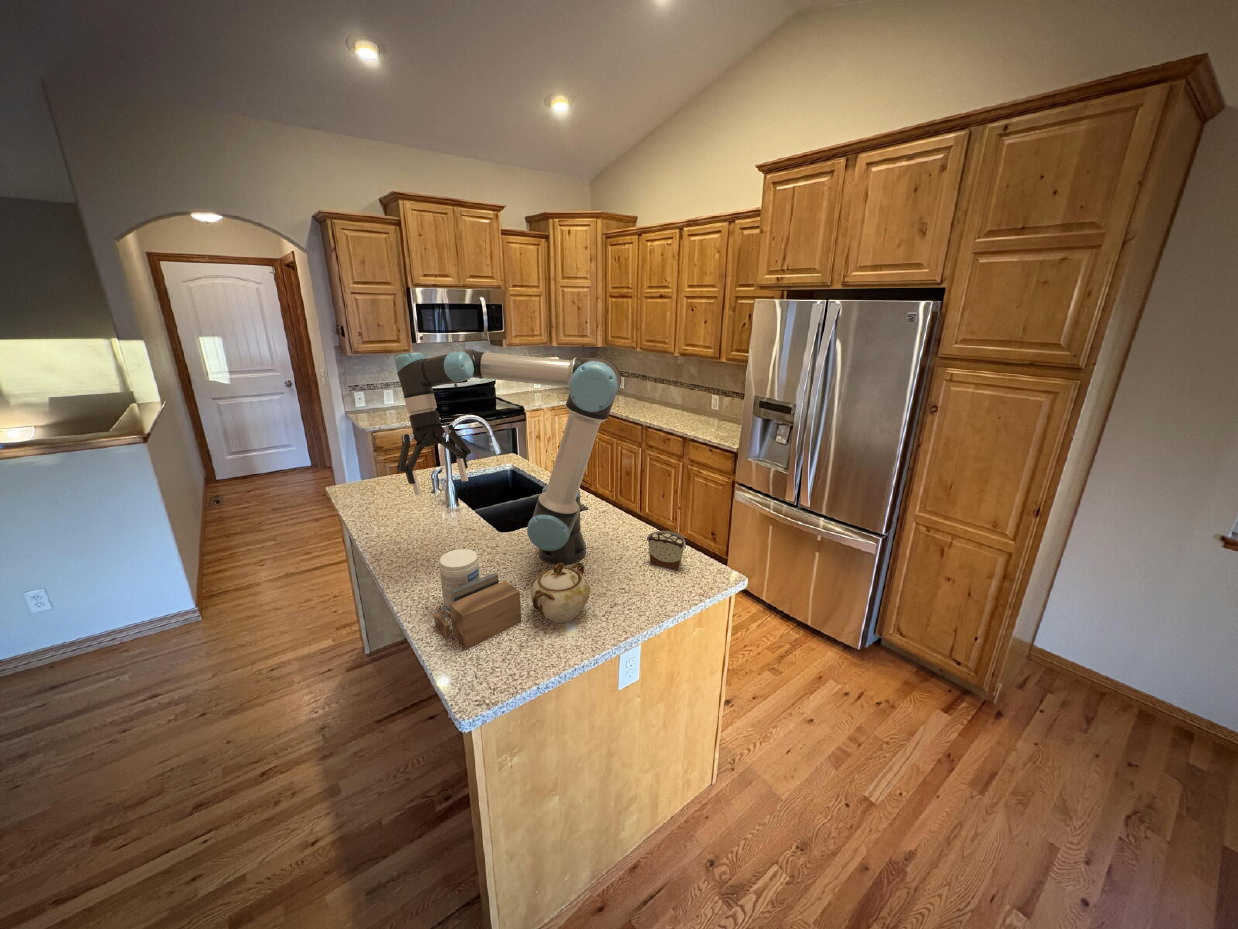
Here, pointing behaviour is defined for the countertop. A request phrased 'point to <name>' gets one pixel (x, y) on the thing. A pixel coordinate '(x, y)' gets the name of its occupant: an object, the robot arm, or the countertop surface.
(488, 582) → the plate
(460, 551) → the supplement tub
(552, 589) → the sugar bowl
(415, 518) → the countertop surface
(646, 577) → the countertop surface
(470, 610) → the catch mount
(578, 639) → the countertop surface
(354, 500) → the countertop surface
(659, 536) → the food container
